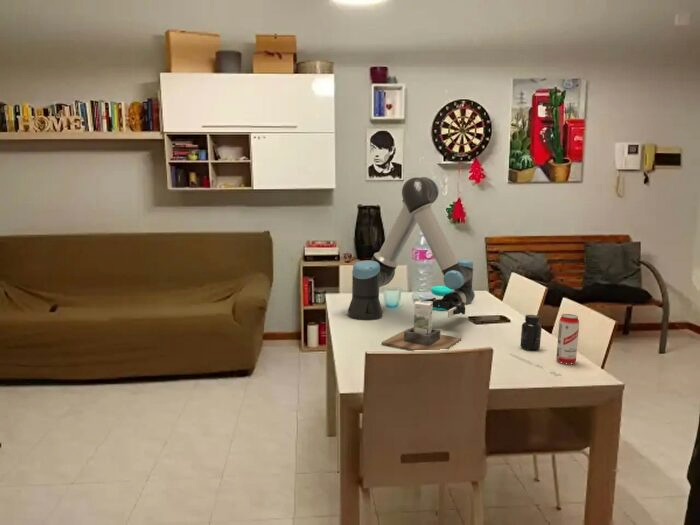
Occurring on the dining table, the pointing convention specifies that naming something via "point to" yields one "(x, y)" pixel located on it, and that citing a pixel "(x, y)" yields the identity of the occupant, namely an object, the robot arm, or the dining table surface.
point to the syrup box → (423, 317)
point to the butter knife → (533, 363)
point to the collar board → (421, 340)
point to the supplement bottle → (531, 333)
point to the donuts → (440, 293)
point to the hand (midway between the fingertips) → (432, 311)
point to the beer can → (567, 338)
